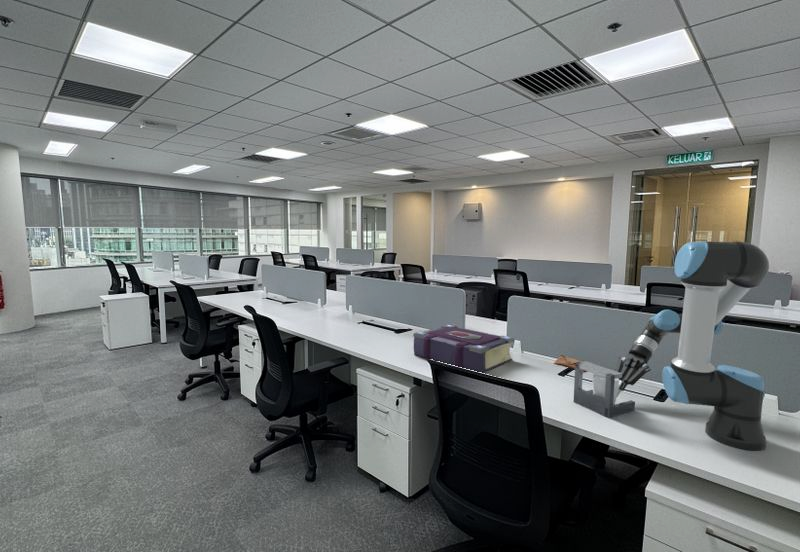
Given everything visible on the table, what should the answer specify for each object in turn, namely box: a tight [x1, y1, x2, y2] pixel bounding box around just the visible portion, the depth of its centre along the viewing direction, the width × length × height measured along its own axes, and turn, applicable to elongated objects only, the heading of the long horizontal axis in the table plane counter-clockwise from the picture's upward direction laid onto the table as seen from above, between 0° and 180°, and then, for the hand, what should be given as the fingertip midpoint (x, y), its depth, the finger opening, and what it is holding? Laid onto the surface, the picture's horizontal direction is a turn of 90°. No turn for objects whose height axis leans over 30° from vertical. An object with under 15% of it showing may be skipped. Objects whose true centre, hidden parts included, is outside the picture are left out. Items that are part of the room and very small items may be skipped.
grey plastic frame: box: [572, 361, 636, 419], centre depth 150 cm, size 15×16×16 cm
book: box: [413, 324, 515, 374], centre depth 211 cm, size 33×45×14 cm
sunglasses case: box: [552, 354, 588, 374], centre depth 198 cm, size 18×7×7 cm
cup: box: [592, 373, 619, 405], centre depth 149 cm, size 9×9×12 cm
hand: (613, 395), depth 153 cm, fingers closed
